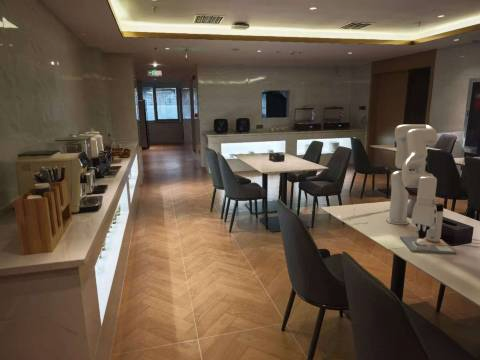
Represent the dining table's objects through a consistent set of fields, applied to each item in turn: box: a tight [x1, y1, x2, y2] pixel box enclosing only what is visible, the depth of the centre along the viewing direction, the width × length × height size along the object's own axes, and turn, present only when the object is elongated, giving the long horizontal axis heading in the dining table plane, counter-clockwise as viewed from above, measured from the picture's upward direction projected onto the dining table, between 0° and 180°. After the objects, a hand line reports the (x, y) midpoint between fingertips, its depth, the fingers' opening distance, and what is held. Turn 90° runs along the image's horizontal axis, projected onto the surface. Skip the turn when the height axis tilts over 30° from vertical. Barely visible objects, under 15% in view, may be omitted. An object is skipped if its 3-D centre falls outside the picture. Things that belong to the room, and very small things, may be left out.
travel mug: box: [426, 203, 445, 243], centre depth 171 cm, size 6×7×20 cm
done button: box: [416, 239, 426, 246], centre depth 166 cm, size 4×4×2 cm
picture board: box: [399, 236, 457, 255], centre depth 170 cm, size 18×20×2 cm
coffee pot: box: [405, 187, 417, 218], centre depth 221 cm, size 21×12×15 cm, turn 178°
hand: (421, 237), depth 165 cm, fingers closed
